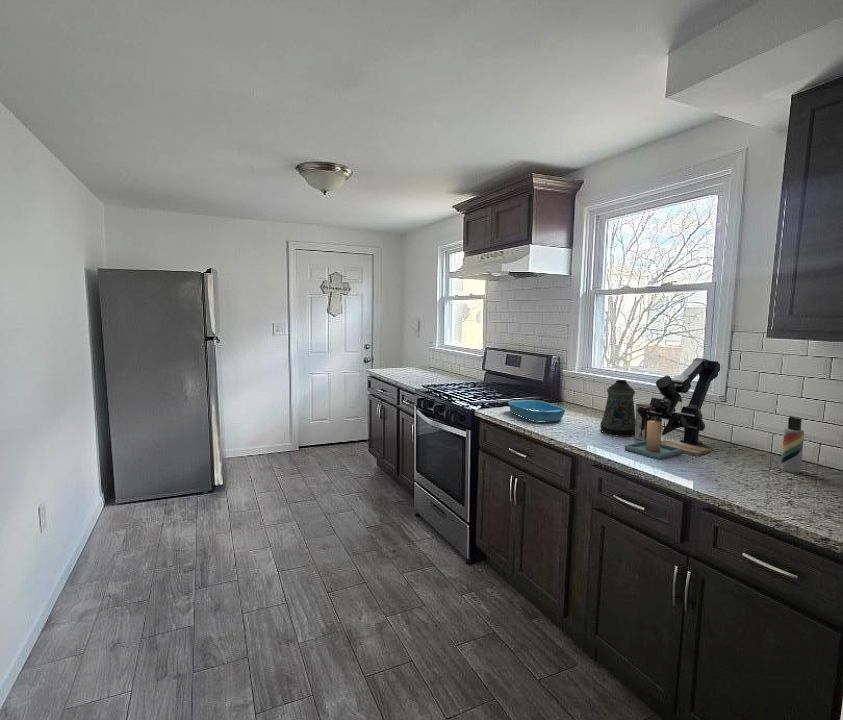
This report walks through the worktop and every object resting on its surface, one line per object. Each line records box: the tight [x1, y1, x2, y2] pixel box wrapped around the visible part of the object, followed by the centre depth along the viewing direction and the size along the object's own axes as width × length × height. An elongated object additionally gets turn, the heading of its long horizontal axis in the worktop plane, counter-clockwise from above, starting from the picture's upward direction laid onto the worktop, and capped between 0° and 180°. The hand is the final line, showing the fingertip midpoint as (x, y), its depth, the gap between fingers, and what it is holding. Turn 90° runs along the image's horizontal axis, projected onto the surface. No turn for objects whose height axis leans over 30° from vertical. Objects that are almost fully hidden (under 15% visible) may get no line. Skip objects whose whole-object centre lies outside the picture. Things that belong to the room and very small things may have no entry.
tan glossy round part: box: [646, 420, 663, 452], centre depth 192 cm, size 5×5×12 cm
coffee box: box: [634, 402, 663, 442], centre depth 212 cm, size 9×6×16 cm
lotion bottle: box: [780, 415, 805, 474], centre depth 169 cm, size 6×6×20 cm
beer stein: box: [599, 379, 636, 437], centre depth 226 cm, size 16×19×25 cm
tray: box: [624, 440, 682, 460], centre depth 193 cm, size 15×15×2 cm
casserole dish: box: [507, 399, 566, 422], centre depth 258 cm, size 37×22×7 cm, turn 17°
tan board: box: [660, 439, 712, 457], centre depth 197 cm, size 11×17×1 cm, turn 32°
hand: (651, 432), depth 191 cm, fingers open, 9 cm apart
